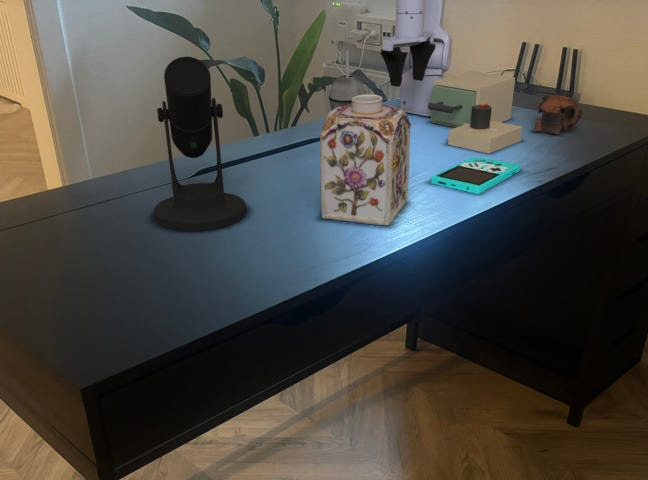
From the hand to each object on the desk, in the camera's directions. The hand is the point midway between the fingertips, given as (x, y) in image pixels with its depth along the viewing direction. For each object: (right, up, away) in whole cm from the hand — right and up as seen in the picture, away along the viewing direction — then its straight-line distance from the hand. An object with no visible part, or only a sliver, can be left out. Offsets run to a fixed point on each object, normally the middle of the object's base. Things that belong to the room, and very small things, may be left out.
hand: (407, 83), depth 156 cm
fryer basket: (+13, -4, +10) cm, 18 cm away
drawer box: (+16, -4, +13) cm, 21 cm away
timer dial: (+15, -10, -3) cm, 18 cm away
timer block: (+16, -13, -2) cm, 21 cm away
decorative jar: (-11, -34, -35) cm, 50 cm away
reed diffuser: (-13, -19, -9) cm, 25 cm away
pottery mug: (+33, -9, +5) cm, 35 cm away
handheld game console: (+10, -25, -21) cm, 34 cm away
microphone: (-38, -35, -35) cm, 62 cm away
